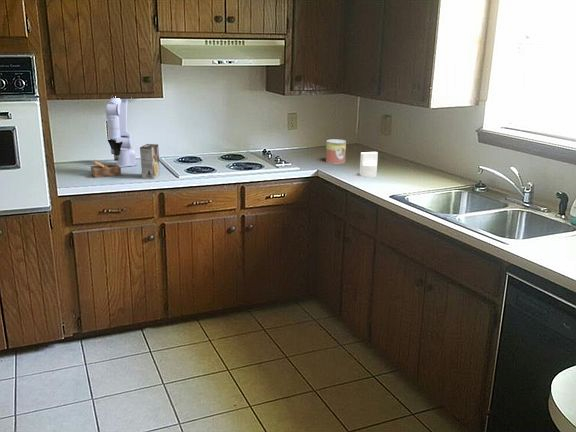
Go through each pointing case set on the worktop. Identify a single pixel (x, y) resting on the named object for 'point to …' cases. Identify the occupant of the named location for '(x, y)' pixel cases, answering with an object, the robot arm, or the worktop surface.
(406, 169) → the worktop surface
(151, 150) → the coffee box
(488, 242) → the worktop surface
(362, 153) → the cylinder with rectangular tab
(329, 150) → the canned food
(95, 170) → the hitch block
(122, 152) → the robot arm
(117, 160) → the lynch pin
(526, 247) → the worktop surface
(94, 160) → the block
